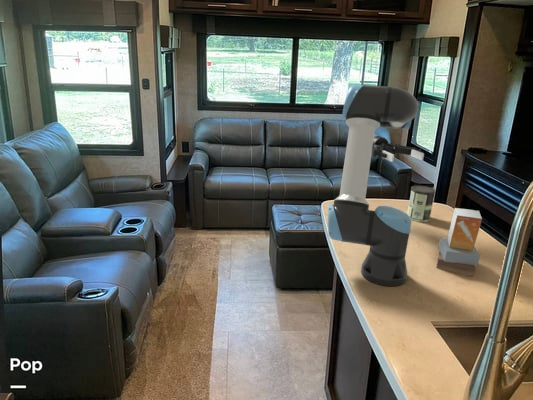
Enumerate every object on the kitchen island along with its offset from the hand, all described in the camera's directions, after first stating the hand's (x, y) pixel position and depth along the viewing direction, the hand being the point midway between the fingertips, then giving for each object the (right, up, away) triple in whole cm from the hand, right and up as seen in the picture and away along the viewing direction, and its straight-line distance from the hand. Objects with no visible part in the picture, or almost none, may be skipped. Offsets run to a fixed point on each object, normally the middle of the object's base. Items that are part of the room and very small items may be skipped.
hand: (408, 157), depth 159 cm
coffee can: (+17, -24, +36) cm, 46 cm away
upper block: (+15, -36, -7) cm, 40 cm away
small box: (+16, -32, -8) cm, 37 cm away
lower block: (+15, -40, -6) cm, 43 cm away
